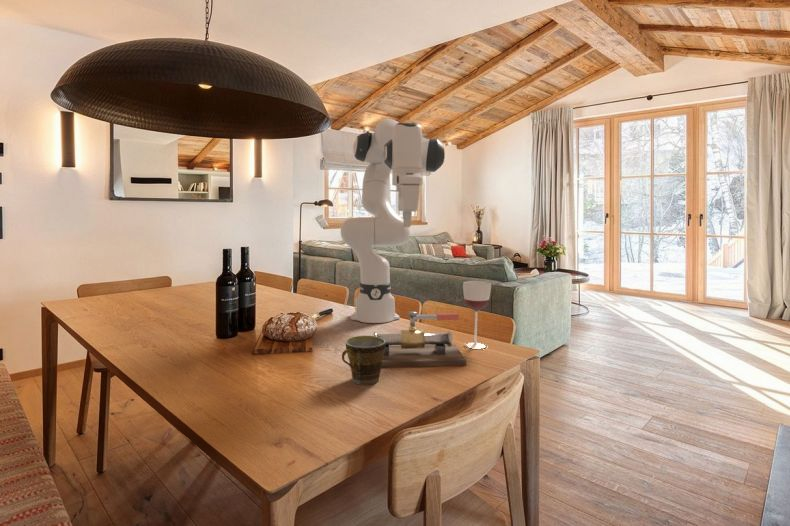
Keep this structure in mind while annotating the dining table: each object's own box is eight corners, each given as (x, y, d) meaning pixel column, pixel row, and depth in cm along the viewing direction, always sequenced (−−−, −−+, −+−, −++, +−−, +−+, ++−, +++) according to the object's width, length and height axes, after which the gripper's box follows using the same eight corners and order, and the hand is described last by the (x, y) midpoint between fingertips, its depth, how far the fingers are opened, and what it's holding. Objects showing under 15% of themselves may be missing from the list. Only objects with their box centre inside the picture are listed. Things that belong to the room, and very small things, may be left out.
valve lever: (408, 327, 128) (408, 313, 128) (407, 324, 131) (407, 311, 130) (458, 326, 130) (458, 312, 129) (456, 323, 132) (456, 310, 132)
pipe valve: (373, 350, 132) (373, 325, 131) (448, 349, 134) (448, 324, 133) (374, 356, 127) (374, 330, 126) (452, 355, 129) (452, 329, 128)
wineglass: (456, 343, 144) (458, 281, 142) (480, 341, 147) (482, 280, 145) (469, 351, 137) (471, 285, 135) (494, 348, 140) (496, 284, 138)
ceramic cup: (364, 369, 121) (364, 333, 120) (393, 379, 115) (393, 340, 113) (328, 384, 111) (327, 344, 110) (357, 395, 105) (357, 353, 103)
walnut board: (363, 351, 136) (363, 346, 136) (455, 349, 139) (455, 344, 138) (363, 367, 123) (363, 362, 122) (465, 365, 125) (466, 360, 125)
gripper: (393, 181, 142) (393, 225, 144) (399, 177, 122) (399, 228, 124) (414, 181, 143) (413, 225, 144) (423, 177, 123) (422, 228, 124)
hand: (407, 227), depth 134 cm, fingers closed
